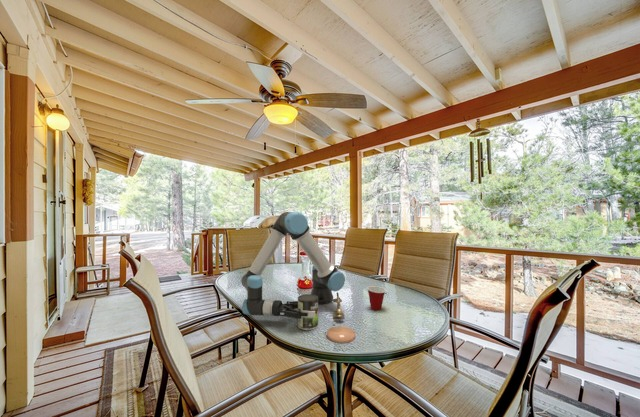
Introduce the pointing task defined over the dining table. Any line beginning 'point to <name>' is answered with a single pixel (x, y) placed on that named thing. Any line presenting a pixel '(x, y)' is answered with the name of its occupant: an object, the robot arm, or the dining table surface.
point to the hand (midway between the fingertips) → (316, 309)
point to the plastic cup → (376, 297)
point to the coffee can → (308, 304)
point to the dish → (340, 334)
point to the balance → (338, 309)
